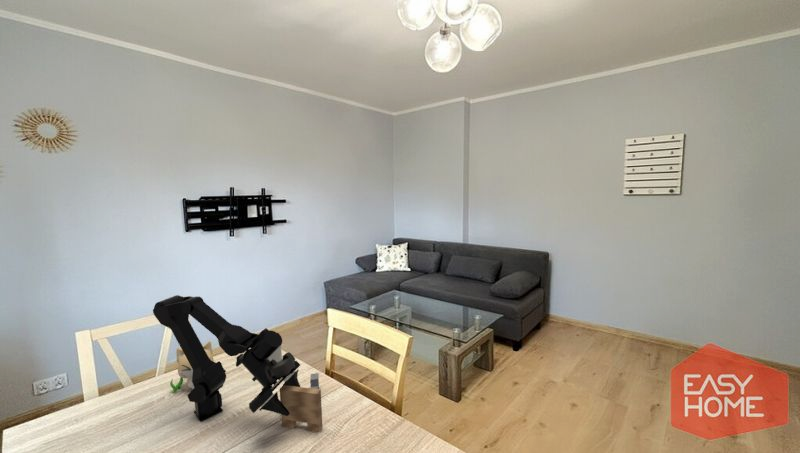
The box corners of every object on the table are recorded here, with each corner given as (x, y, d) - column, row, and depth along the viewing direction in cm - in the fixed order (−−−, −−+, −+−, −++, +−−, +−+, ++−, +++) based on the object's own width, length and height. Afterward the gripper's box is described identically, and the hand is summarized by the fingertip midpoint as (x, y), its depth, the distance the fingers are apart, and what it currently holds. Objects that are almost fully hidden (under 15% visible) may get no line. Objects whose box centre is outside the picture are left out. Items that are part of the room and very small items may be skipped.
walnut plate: (281, 426, 97) (279, 389, 95) (285, 421, 99) (283, 384, 97) (319, 432, 94) (317, 394, 93) (322, 427, 96) (320, 389, 95)
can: (268, 374, 124) (266, 344, 122) (258, 367, 128) (256, 338, 127) (286, 365, 130) (284, 336, 128) (275, 359, 134) (273, 331, 133)
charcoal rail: (317, 413, 102) (316, 398, 102) (308, 414, 102) (308, 399, 101) (318, 386, 116) (318, 373, 115) (311, 387, 115) (310, 374, 115)
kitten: (169, 400, 110) (165, 358, 108) (172, 384, 118) (168, 345, 116) (220, 385, 117) (217, 346, 115) (219, 372, 126) (216, 335, 124)
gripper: (255, 367, 86) (295, 411, 85) (293, 335, 104) (326, 371, 103) (232, 391, 89) (270, 434, 88) (272, 356, 107) (305, 392, 106)
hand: (296, 405), depth 96 cm, fingers open, 8 cm apart
